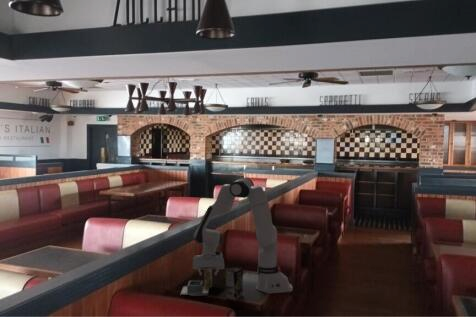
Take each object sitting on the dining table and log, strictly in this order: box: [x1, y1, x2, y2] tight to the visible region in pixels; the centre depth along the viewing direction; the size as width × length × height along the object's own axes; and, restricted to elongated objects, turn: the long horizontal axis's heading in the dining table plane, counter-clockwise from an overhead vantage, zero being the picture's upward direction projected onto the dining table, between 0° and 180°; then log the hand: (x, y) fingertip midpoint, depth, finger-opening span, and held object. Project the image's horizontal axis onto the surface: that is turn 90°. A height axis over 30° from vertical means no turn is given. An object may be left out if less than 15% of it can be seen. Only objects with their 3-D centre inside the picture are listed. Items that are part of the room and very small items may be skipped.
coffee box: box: [225, 267, 244, 301], centre depth 229 cm, size 9×6×16 cm
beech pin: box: [203, 268, 213, 289], centre depth 248 cm, size 4×4×11 cm
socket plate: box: [180, 280, 210, 297], centre depth 238 cm, size 16×12×6 cm
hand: (208, 274), depth 247 cm, fingers open, 8 cm apart
